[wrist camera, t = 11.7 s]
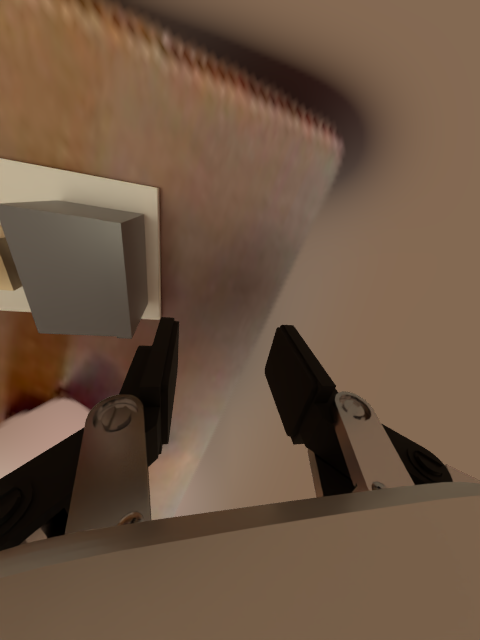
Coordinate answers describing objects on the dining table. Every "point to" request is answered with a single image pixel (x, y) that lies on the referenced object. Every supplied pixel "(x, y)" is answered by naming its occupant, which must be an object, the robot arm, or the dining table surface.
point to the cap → (79, 266)
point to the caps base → (54, 184)
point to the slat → (7, 267)
